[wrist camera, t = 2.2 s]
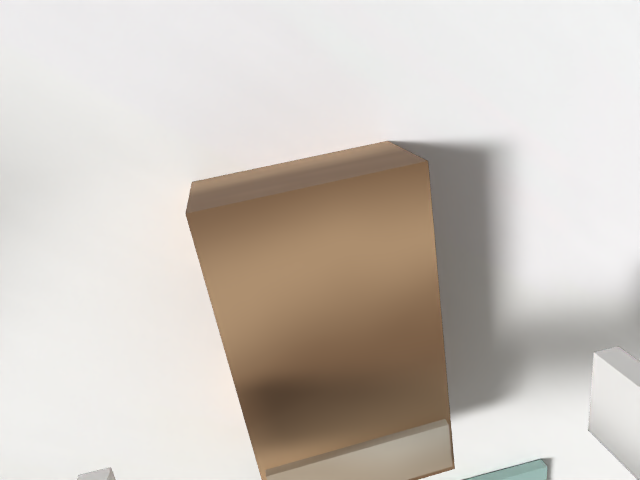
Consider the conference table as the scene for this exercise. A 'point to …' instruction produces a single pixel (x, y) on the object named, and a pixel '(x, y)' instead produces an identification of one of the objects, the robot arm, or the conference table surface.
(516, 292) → the conference table surface
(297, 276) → the brown wooden block
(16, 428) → the conference table surface
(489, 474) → the rubber mat
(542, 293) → the conference table surface
